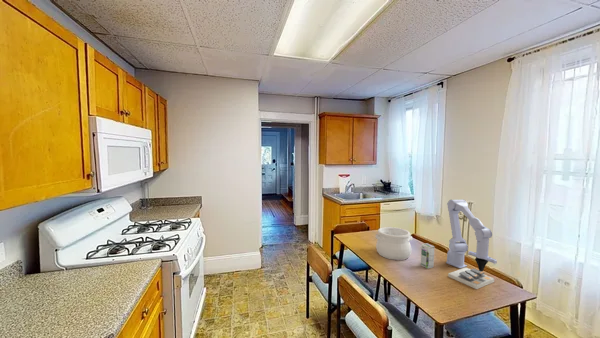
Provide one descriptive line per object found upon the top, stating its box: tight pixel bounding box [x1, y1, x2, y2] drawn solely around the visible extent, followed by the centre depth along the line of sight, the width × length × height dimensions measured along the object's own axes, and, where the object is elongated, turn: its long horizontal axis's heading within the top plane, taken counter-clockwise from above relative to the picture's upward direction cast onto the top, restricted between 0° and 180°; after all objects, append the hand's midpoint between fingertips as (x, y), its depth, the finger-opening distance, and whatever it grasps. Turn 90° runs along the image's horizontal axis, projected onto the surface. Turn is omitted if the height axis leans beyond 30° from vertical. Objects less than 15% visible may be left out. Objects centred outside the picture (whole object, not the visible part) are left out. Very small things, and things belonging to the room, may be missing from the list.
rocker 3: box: [470, 268, 485, 275], centre depth 151 cm, size 6×4×1 cm, turn 27°
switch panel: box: [447, 267, 495, 290], centre depth 149 cm, size 16×18×2 cm
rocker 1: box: [459, 271, 474, 280], centre depth 146 cm, size 6×4×1 cm, turn 27°
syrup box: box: [420, 243, 435, 269], centre depth 166 cm, size 6×6×14 cm
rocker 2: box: [465, 270, 479, 278], centre depth 149 cm, size 6×4×1 cm, turn 27°
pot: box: [375, 226, 413, 261], centre depth 185 cm, size 26×24×18 cm
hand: (481, 270), depth 149 cm, fingers closed
